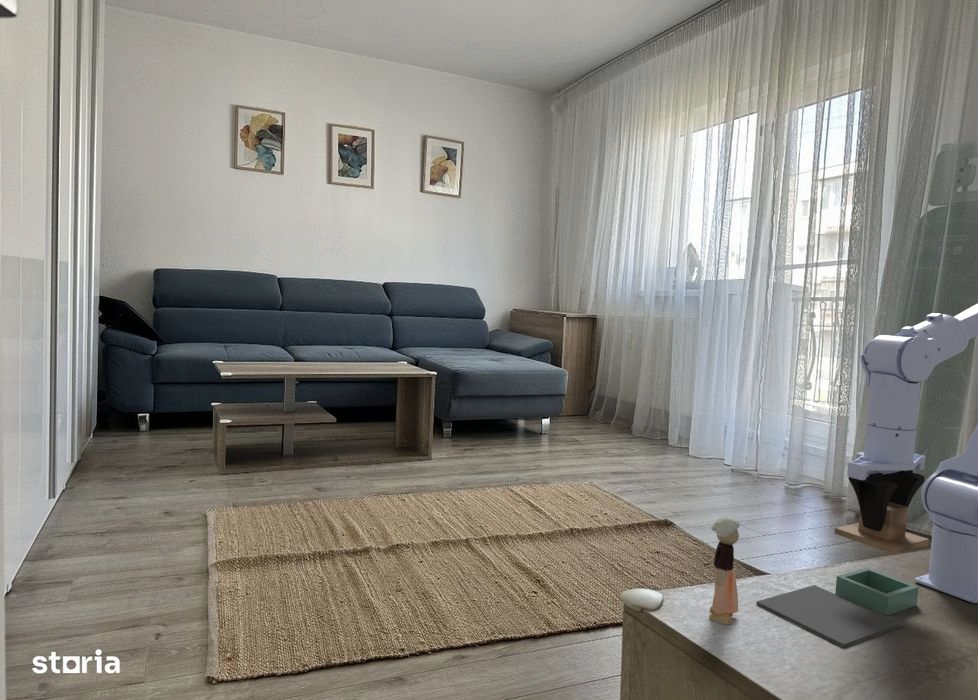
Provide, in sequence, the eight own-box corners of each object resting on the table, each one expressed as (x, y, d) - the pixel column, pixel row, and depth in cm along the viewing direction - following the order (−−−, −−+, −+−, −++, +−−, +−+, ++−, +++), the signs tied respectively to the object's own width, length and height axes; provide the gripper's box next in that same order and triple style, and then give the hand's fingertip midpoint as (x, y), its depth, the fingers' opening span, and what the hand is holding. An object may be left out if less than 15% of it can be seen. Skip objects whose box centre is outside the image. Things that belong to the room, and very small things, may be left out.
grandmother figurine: (742, 631, 81) (750, 527, 80) (709, 626, 82) (716, 524, 81) (733, 603, 88) (739, 508, 87) (702, 599, 89) (708, 505, 88)
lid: (869, 525, 96) (872, 492, 96) (928, 544, 89) (932, 509, 89) (834, 533, 92) (837, 499, 92) (894, 554, 85) (897, 517, 85)
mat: (814, 587, 94) (814, 585, 94) (902, 626, 84) (902, 622, 84) (756, 604, 88) (756, 601, 88) (843, 647, 78) (843, 644, 78)
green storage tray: (865, 584, 96) (866, 567, 96) (916, 605, 90) (918, 586, 90) (835, 593, 92) (836, 576, 92) (886, 615, 86) (888, 596, 86)
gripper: (891, 417, 96) (883, 510, 97) (828, 424, 89) (820, 524, 90) (945, 427, 90) (935, 526, 91) (882, 434, 83) (872, 541, 84)
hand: (882, 526), depth 90 cm, fingers closed on lid, 4 cm apart
